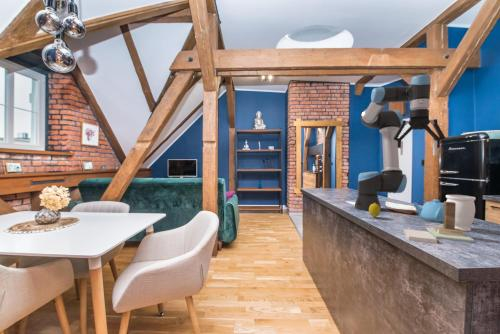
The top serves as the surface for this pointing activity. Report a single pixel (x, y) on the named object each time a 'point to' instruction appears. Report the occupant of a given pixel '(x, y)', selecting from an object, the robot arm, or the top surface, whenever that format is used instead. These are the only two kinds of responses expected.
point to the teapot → (431, 211)
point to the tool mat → (450, 236)
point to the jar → (463, 210)
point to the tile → (420, 236)
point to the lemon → (374, 210)
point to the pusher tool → (449, 221)
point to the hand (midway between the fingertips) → (417, 155)
